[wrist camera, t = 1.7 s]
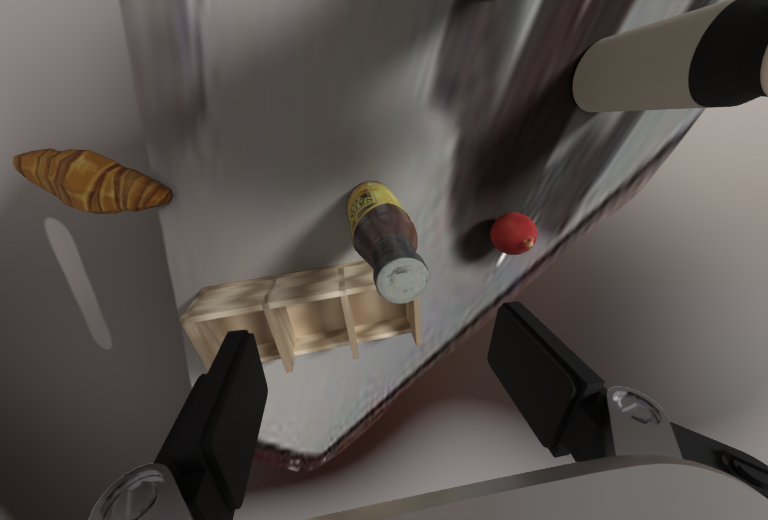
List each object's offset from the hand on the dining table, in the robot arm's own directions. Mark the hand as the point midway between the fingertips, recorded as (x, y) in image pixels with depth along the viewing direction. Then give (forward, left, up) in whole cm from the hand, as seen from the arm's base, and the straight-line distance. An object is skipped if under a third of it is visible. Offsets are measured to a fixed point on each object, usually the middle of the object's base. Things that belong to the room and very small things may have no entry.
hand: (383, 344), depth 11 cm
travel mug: (-34, -10, -29) cm, 45 cm away
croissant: (+26, -5, -29) cm, 39 cm away
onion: (-22, +8, -29) cm, 37 cm away
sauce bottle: (-3, +2, -29) cm, 29 cm away
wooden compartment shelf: (+7, +16, -29) cm, 34 cm away
